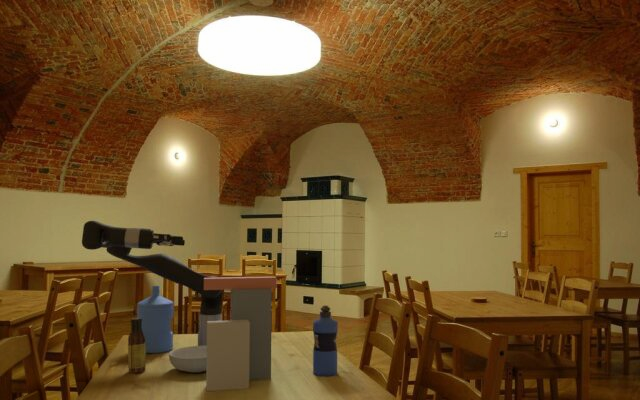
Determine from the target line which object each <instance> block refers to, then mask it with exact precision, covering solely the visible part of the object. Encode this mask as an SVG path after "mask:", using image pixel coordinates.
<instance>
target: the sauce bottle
mask: <svg viewBox="0 0 640 400" xmlns="http://www.w3.org/2000/svg"><path fill="white" fill-rule="evenodd" d="M130 325H131V328H130V333H129V335H128V338H127V340H128V341H127V357H128V358H127V359H128V362H127V363H128V364H127V366H128V367H127V368H128V372H129V373H131V372H134V373H133V374H139V373H138V372H140V373H143V372H145V371H146V366H147V362H146V359H147V358H146V355H147V353H146V351H145V348H146V347H145V337H144V334H143V331H142V318H137V317H133V318H132V317H131V318H130Z"/></svg>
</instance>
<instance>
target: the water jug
mask: <svg viewBox="0 0 640 400" xmlns="http://www.w3.org/2000/svg"><path fill="white" fill-rule="evenodd" d="M151 289H152V290H151V292H152V293H151V295H150V296H149V297H147V298H145V299H143V300H141V301H139V302H137V306H136V307H137V308H136V314H137V315H136V316H137V317H136V318H142V331H143V334H144V337H145V347H146V348H145V351H146V354H147V353H153V354H161V353H162V352H163V353H166V352H171V351H172V350H173V348H174V333H173V331H172V329H171V327H172V323H171V322H172V319H173V318H174V307H175V305H174V301H173V300H170V299H168V298H166V297H164V296H162V295H161V294H160V291H161V290H160V285H153V286H152V288H151Z"/></svg>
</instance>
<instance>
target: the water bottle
mask: <svg viewBox="0 0 640 400" xmlns="http://www.w3.org/2000/svg"><path fill="white" fill-rule="evenodd" d="M331 316H332V312H331V308H330V307H329V305H322V306H321V307H320V311H319V318H317V319H315V320H313V322H312V332H313V340H314V344H313V349H312V350H313V351H312V374H313V375H314V376H316V377H322V378H323V377H324V378H325V377H326V378H327V377H328V378H329V377H334V376H336V375H338V346H337V338H338V331H339V329H338V328H339V324H338V321H337V320H335V319H333V318H332V317H331Z"/></svg>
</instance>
